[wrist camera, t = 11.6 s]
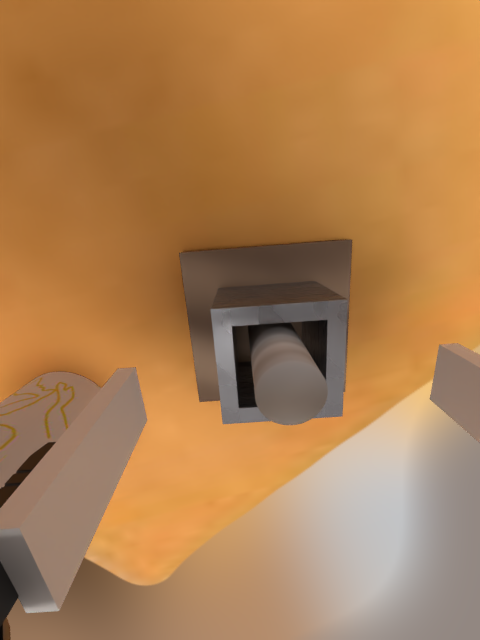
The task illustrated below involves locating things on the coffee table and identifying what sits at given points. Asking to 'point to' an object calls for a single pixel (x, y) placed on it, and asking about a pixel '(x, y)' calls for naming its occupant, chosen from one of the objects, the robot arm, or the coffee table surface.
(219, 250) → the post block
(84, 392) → the gold-veined taupe cylinder
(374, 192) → the coffee table surface
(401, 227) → the coffee table surface
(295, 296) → the collar
